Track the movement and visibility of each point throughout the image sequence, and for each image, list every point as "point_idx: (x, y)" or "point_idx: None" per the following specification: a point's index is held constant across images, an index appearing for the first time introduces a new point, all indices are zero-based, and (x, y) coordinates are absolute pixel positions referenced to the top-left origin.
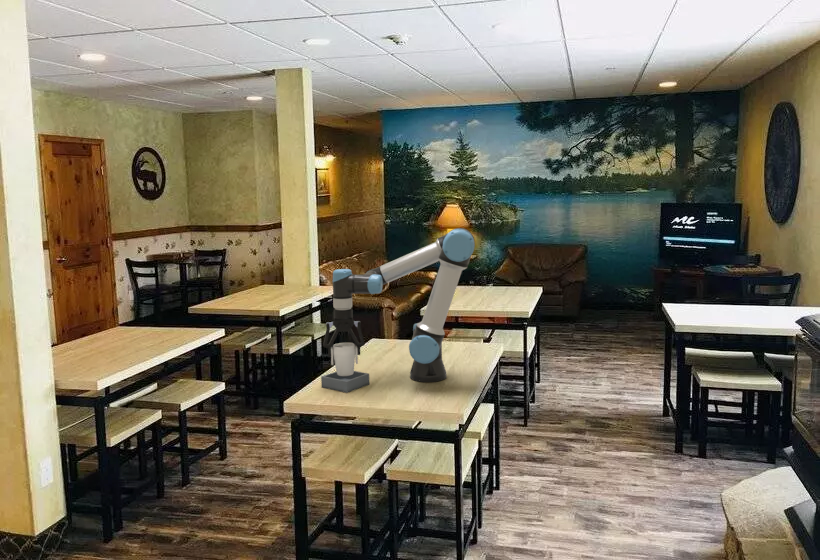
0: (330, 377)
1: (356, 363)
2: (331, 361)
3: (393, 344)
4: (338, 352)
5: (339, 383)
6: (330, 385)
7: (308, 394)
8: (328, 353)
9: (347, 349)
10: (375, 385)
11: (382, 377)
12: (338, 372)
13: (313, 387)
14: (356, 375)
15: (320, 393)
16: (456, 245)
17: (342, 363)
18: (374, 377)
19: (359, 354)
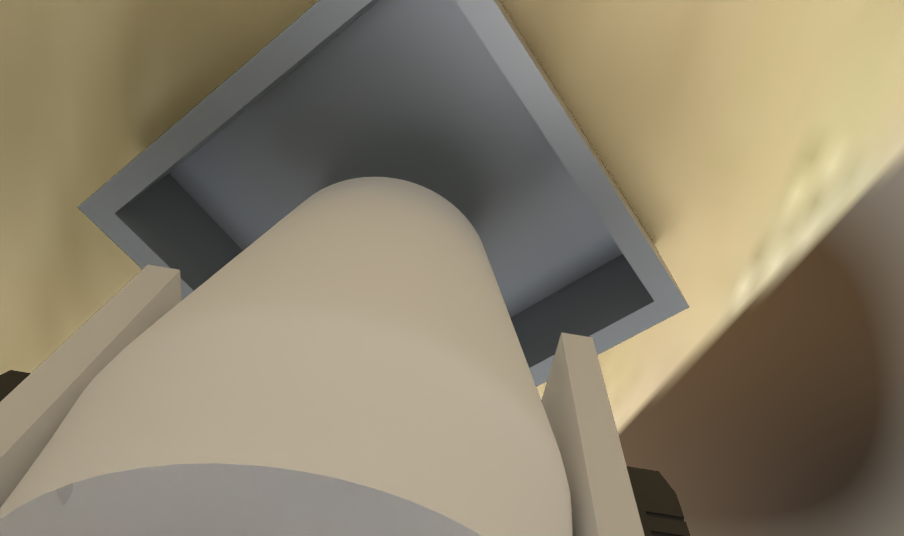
0: (550, 331)
1: (167, 270)
2: (600, 374)
3: None
4: (487, 411)
5: (516, 32)
6: (595, 154)
7: (891, 41)
8: (678, 527)
9: (202, 400)
10: (81, 101)
11: (20, 335)
12: (483, 249)
13: (729, 274)
14: None
15: (748, 27)
16: None
17: (419, 248)
18: None
19: (10, 378)
